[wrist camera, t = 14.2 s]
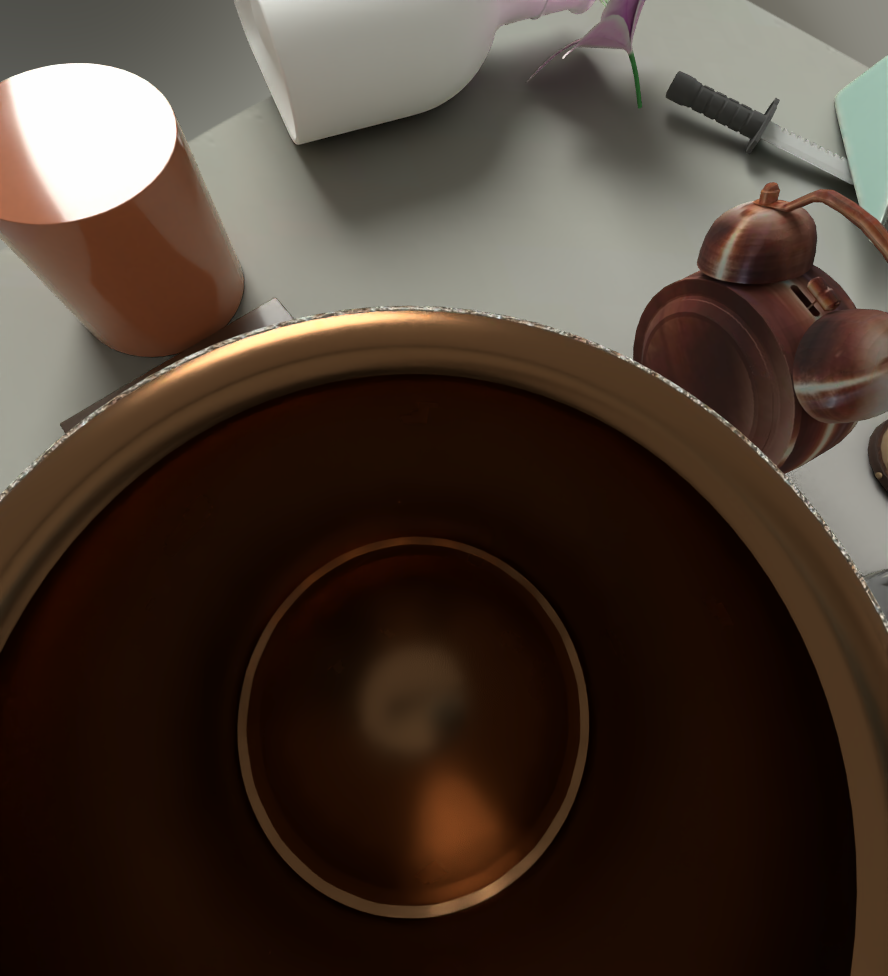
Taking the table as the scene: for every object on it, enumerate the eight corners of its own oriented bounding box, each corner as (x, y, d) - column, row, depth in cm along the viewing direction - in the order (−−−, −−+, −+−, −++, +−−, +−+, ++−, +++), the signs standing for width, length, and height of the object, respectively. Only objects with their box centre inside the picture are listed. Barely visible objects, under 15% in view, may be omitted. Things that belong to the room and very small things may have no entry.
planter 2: (763, 291, 40) (833, 141, 45) (868, 292, 36) (932, 127, 41) (762, 195, 34) (842, 35, 39) (886, 183, 30) (958, 6, 35)
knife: (883, 234, 39) (899, 189, 40) (914, 208, 37) (929, 162, 38) (652, 116, 40) (676, 78, 41) (669, 85, 38) (692, 44, 39)
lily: (650, 48, 45) (637, -108, 37) (748, 75, 37) (755, -113, 30) (526, 130, 46) (489, -5, 38) (596, 173, 38) (567, 16, 31)
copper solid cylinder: (274, 301, 33) (219, 156, 24) (130, 387, 31) (4, 262, 22) (191, 203, 36) (110, 35, 26) (50, 276, 33) (-95, 119, 24)
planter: (397, 1084, 12) (331, 2588, 2) (121, 693, 14) (-438, 734, 5) (699, 715, 14) (1184, 788, 5) (430, 440, 17) (446, 164, 8)
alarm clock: (759, 491, 31) (1051, 337, 17) (690, 521, 30) (935, 387, 16) (663, 342, 34) (841, 106, 20) (598, 366, 33) (734, 138, 19)
